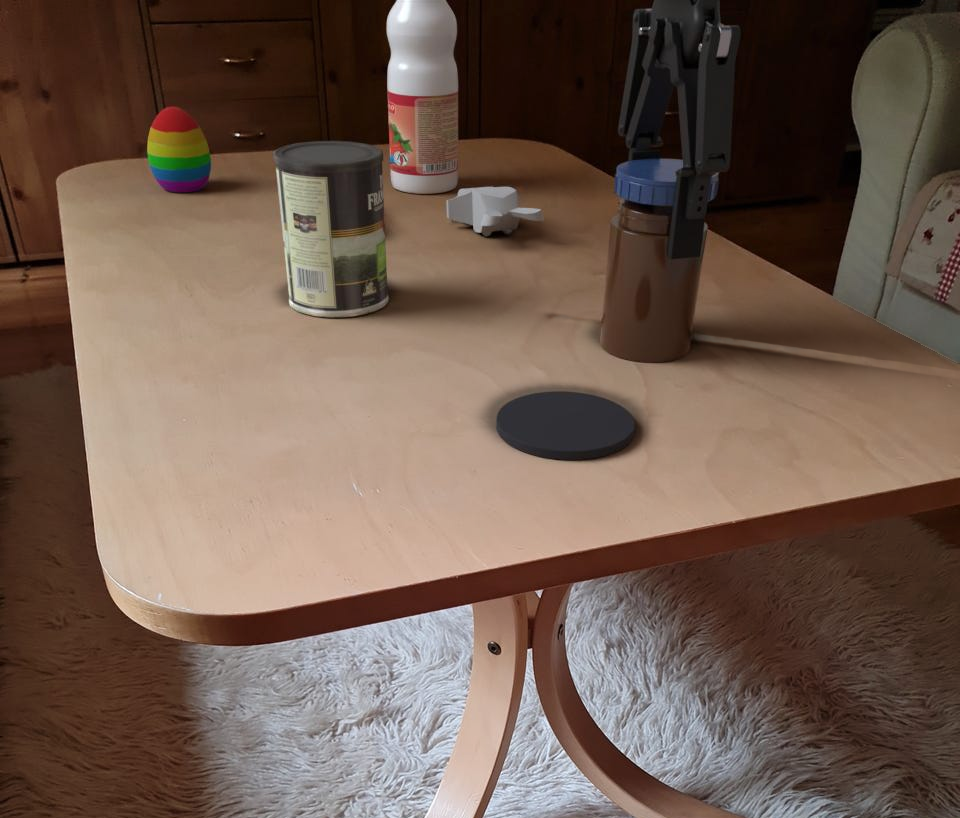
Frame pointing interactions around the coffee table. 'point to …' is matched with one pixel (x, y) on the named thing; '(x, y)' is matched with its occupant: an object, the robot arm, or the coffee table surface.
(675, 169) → the jar lid
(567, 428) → the coaster
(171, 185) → the decorative egg
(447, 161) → the fruit juice
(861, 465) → the coffee table surface
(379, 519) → the coffee table surface
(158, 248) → the coffee table surface
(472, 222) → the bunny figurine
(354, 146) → the coffee can
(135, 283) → the coffee table surface
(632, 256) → the jar
